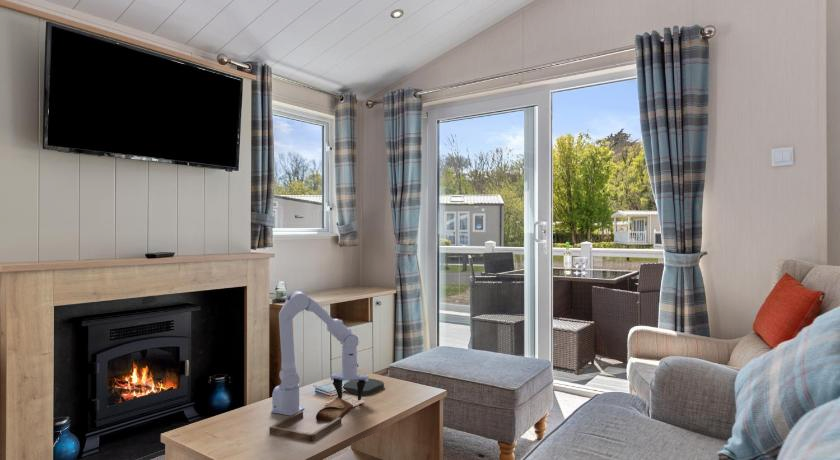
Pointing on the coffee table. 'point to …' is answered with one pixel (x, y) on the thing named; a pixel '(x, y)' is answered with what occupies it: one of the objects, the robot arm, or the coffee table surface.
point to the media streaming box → (368, 389)
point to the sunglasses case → (334, 410)
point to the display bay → (280, 430)
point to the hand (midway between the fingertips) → (349, 399)
